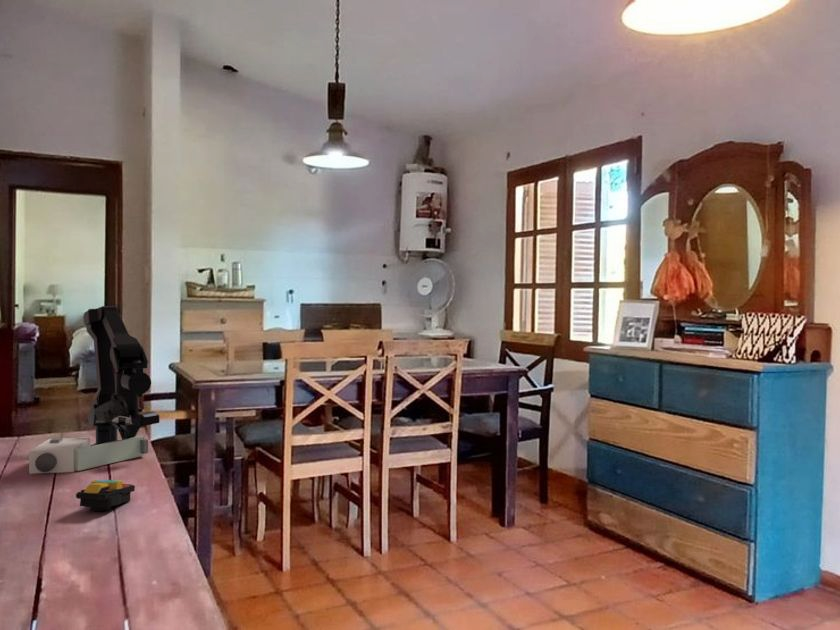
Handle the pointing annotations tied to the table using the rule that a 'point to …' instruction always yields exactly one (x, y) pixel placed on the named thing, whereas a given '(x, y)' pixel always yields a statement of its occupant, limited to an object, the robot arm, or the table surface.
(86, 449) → the side door
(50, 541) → the table surface
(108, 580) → the table surface
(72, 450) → the camera case
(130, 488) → the gadget
